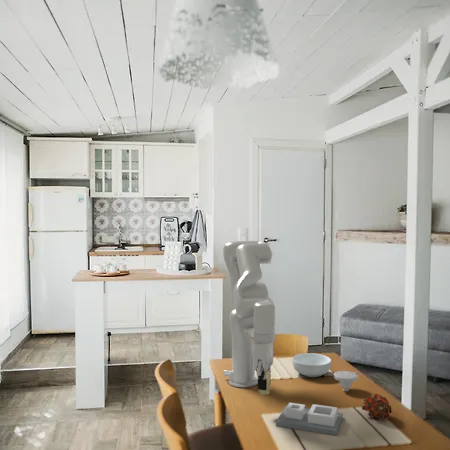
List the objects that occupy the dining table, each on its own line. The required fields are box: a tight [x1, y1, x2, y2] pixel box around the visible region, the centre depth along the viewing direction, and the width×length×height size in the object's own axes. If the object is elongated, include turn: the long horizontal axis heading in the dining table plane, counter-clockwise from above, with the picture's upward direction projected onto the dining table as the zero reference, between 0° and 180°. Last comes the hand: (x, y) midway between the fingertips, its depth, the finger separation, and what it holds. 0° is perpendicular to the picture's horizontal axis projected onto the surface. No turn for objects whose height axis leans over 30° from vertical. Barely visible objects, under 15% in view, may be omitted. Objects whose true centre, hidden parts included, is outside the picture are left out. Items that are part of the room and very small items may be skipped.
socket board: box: [275, 402, 343, 436], centre depth 163 cm, size 20×14×4 cm
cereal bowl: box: [291, 352, 332, 378], centre depth 211 cm, size 17×17×7 cm
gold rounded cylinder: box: [258, 369, 271, 396], centre depth 170 cm, size 4×4×8 cm
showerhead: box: [333, 370, 359, 392], centre depth 192 cm, size 9×7×10 cm
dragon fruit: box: [361, 393, 393, 421], centre depth 167 cm, size 8×8×12 cm
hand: (264, 386), depth 170 cm, fingers closed on gold rounded cylinder, 4 cm apart
